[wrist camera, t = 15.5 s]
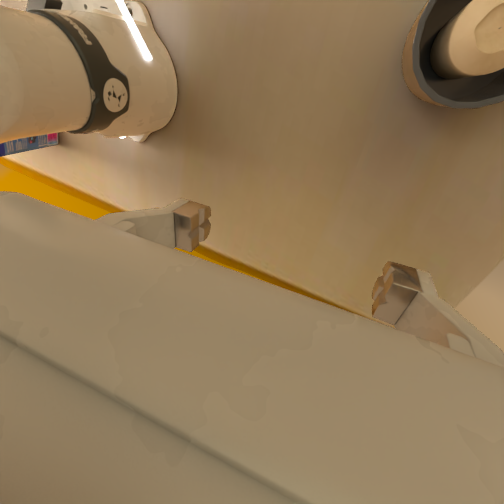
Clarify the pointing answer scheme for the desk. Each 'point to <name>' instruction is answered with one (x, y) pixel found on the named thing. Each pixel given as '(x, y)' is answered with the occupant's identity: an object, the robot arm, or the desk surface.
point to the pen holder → (423, 76)
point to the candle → (471, 41)
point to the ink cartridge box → (28, 144)
